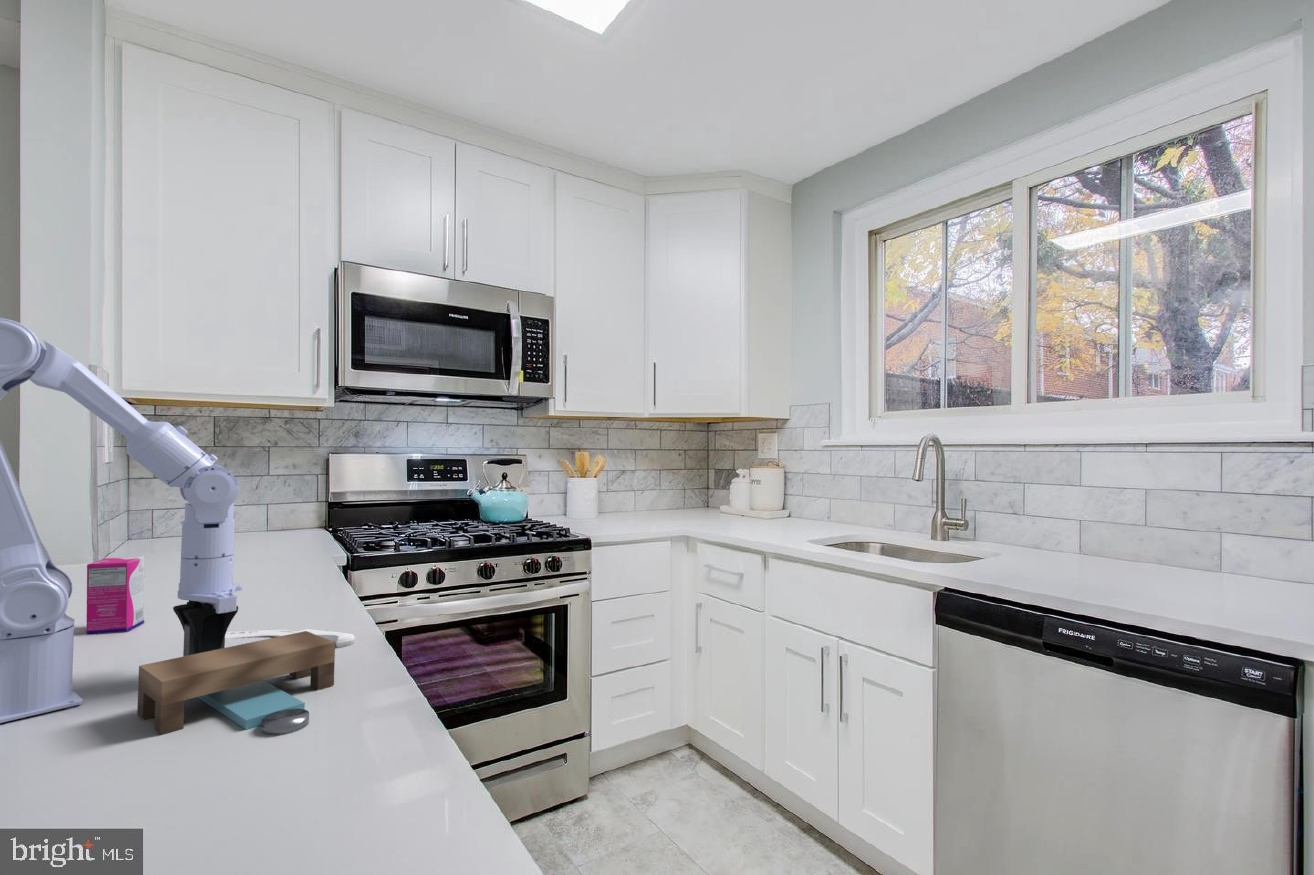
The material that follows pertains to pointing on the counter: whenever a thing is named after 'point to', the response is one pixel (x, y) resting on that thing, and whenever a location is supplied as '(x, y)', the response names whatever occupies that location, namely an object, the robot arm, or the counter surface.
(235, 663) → the low wooden stool
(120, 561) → the supplement box
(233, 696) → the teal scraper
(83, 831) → the counter surface
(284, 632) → the knife
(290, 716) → the steel token
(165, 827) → the counter surface
